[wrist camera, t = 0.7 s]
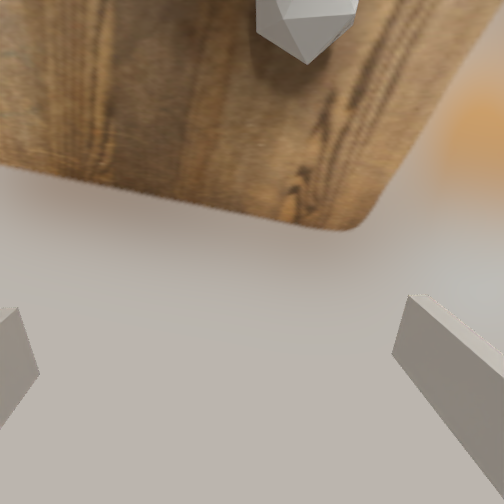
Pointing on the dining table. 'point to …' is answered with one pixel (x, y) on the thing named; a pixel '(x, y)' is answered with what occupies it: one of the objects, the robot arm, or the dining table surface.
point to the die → (304, 24)
